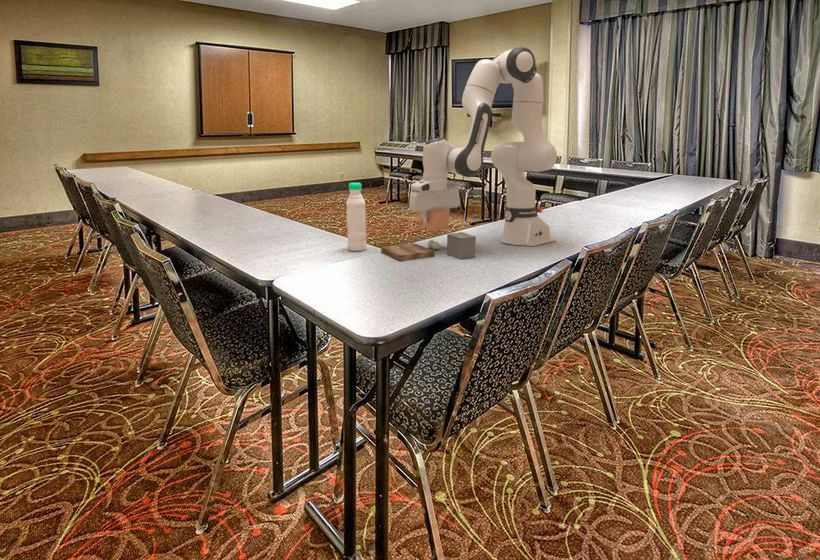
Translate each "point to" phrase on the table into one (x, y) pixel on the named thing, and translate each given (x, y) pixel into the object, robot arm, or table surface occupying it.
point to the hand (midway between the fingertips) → (435, 221)
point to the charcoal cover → (461, 245)
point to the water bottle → (356, 219)
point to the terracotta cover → (437, 219)
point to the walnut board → (407, 251)
